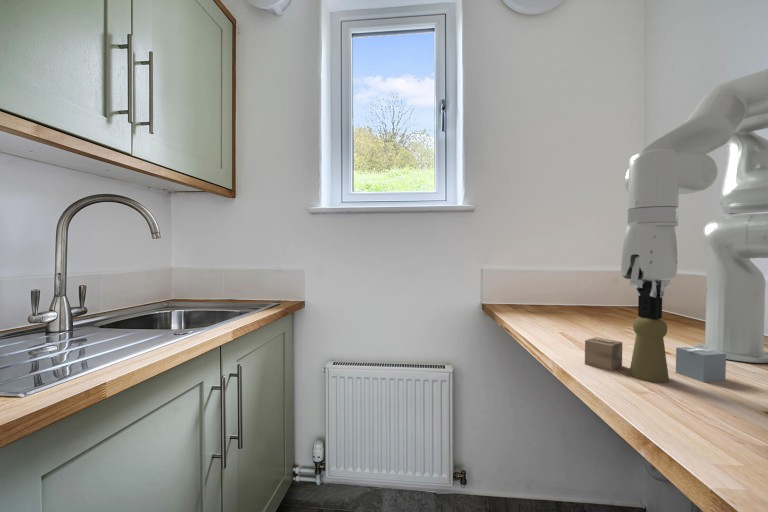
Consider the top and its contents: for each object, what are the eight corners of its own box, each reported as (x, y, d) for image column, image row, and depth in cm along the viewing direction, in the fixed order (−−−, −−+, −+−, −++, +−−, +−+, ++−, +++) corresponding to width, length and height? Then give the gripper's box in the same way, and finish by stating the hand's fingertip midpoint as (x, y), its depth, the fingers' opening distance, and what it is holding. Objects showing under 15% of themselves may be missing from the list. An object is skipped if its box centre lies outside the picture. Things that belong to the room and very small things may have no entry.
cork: (676, 383, 64) (678, 321, 64) (638, 381, 65) (639, 320, 65) (658, 372, 70) (659, 315, 70) (623, 370, 71) (624, 314, 71)
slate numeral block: (696, 371, 71) (697, 345, 71) (725, 380, 66) (726, 352, 66) (674, 373, 70) (675, 346, 70) (702, 382, 65) (702, 353, 65)
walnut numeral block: (595, 360, 78) (596, 336, 78) (621, 366, 74) (622, 341, 74) (584, 364, 75) (585, 339, 75) (611, 371, 71) (611, 344, 71)
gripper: (652, 222, 74) (650, 312, 74) (606, 218, 67) (604, 317, 67) (697, 219, 67) (695, 318, 67) (651, 215, 60) (648, 325, 61)
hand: (649, 317), depth 67 cm, fingers closed
